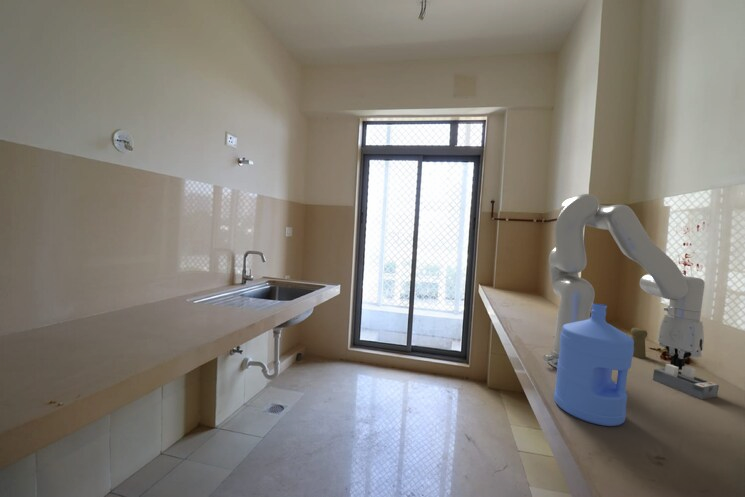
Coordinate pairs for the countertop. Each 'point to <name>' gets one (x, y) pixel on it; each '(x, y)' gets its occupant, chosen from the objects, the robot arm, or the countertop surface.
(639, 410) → the countertop surface
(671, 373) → the inner tab
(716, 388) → the switch block
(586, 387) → the water jug
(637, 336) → the cork
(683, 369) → the outer tab
